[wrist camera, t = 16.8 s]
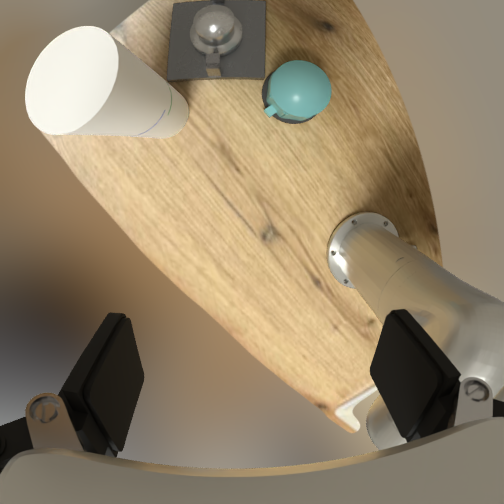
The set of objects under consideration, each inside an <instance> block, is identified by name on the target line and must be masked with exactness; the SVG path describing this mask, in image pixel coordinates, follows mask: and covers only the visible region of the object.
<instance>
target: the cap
mask: <svg viewBox="0 0 504 504" xmlns="http://www.w3.org/2000/svg"><path fill="white" fill-rule="evenodd" d="M330 98H331V84H330V81H329V79H328V77H327V75H326V74H325V73H324V72H323V70H322V69H320V68H319V67H318V66H316V65H315V64H313V63H310V62H307V61H302V60H294V61H289V62H287V63H285V64H283V65H281V66H280V67H279V68H278V69H277V70H276V71H275V72H274V73H273V74H272V75H271V77H270V79H269V81H268V90H267V98H266V101H267V103H268V104H269V105H270V106H269V107H268V108H266V109H265V110H264V112H265V113H266V115H267V116H268V117H269V118H270V117H271V116H272V115H274V114H275V113H277V115H278V116H279V117H281V118H285V119H292V120H298V121H303V120H306V119H308V118H310V117H312V116H313V115H316V114H318V113H319V112H321V111H322V110H323V109H324V108H325V107H326V106H327V105H328V103H329V101H330Z"/></svg>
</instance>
